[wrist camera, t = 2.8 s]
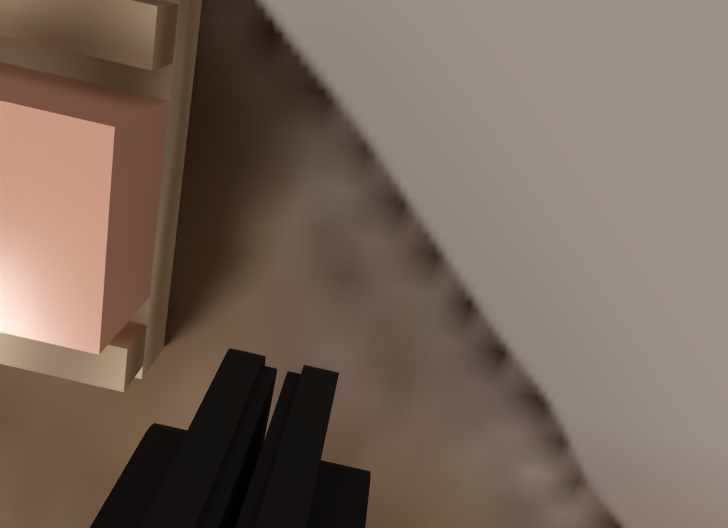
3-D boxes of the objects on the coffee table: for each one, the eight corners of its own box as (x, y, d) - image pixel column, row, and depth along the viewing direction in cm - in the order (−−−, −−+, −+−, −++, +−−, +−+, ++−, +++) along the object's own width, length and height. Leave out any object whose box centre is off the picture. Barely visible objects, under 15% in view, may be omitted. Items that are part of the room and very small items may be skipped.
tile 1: (169, 100, 19) (114, 126, 15) (149, 296, 21) (99, 354, 18) (-49, 50, 19) (-149, 66, 15) (-44, 252, 21) (-130, 302, 18)
